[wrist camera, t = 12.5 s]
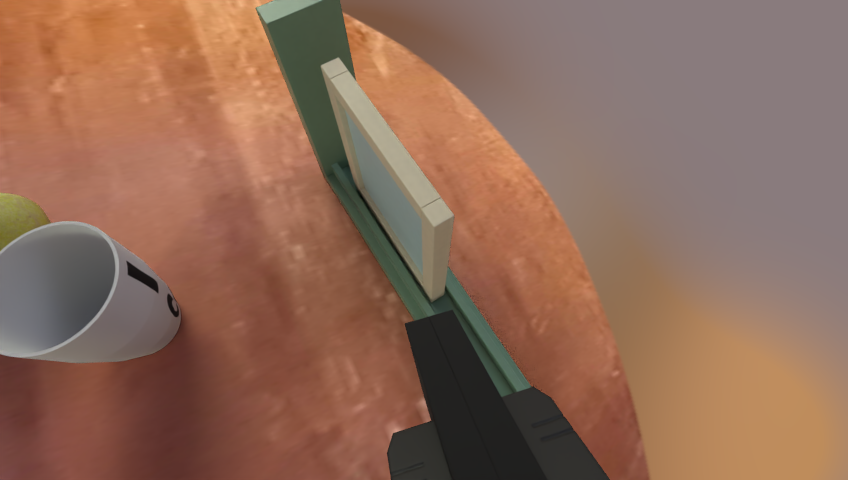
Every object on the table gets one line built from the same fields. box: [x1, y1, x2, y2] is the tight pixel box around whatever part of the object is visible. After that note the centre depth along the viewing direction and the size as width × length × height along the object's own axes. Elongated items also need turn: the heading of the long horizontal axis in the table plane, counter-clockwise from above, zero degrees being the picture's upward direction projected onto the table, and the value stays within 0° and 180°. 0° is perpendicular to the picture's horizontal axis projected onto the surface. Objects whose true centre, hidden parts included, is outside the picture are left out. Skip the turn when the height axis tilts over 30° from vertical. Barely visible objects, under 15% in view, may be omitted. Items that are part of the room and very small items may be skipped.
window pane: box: [321, 58, 454, 302], centre depth 29 cm, size 12×1×13 cm, turn 32°
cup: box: [0, 221, 181, 363], centre depth 30 cm, size 8×8×10 cm
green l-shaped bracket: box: [256, 0, 531, 397], centre depth 28 cm, size 27×4×17 cm, turn 32°
